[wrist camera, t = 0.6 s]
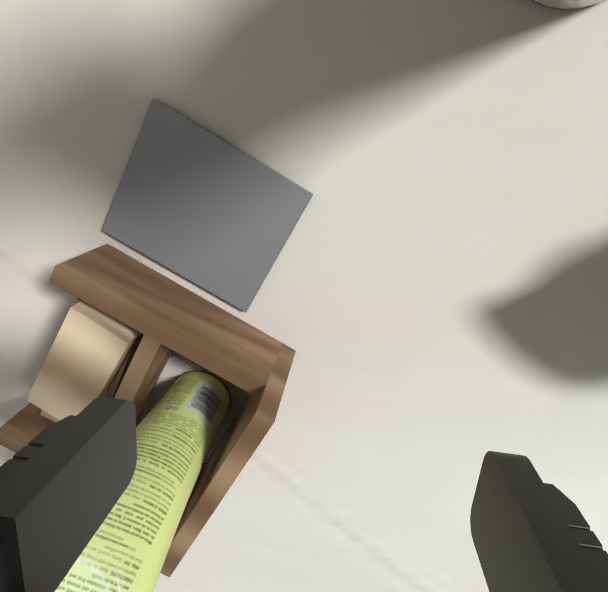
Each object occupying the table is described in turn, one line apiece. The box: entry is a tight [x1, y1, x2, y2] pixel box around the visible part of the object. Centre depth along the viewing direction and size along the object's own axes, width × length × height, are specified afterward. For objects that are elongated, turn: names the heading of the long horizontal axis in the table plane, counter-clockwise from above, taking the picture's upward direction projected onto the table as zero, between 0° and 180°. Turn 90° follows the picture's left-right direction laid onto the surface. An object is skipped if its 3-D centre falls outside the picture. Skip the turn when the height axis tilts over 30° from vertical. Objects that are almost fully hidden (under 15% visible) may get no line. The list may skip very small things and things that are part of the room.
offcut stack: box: [26, 298, 144, 422], centre depth 33 cm, size 12×5×5 cm, turn 150°
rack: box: [0, 244, 295, 577], centre depth 32 cm, size 16×16×9 cm
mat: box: [102, 99, 313, 312], centre depth 31 cm, size 10×12×1 cm
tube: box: [55, 371, 229, 592], centre depth 27 cm, size 6×5×20 cm
